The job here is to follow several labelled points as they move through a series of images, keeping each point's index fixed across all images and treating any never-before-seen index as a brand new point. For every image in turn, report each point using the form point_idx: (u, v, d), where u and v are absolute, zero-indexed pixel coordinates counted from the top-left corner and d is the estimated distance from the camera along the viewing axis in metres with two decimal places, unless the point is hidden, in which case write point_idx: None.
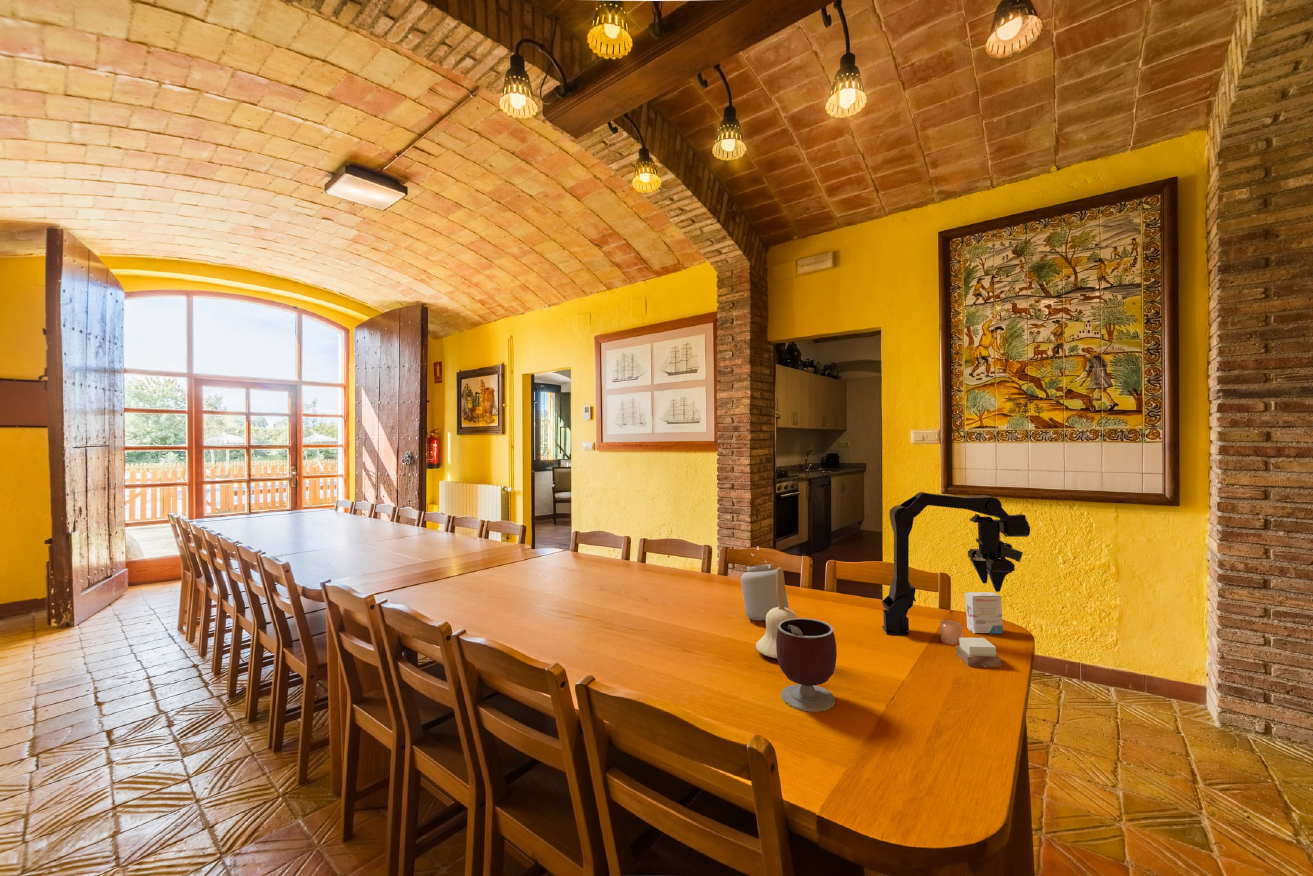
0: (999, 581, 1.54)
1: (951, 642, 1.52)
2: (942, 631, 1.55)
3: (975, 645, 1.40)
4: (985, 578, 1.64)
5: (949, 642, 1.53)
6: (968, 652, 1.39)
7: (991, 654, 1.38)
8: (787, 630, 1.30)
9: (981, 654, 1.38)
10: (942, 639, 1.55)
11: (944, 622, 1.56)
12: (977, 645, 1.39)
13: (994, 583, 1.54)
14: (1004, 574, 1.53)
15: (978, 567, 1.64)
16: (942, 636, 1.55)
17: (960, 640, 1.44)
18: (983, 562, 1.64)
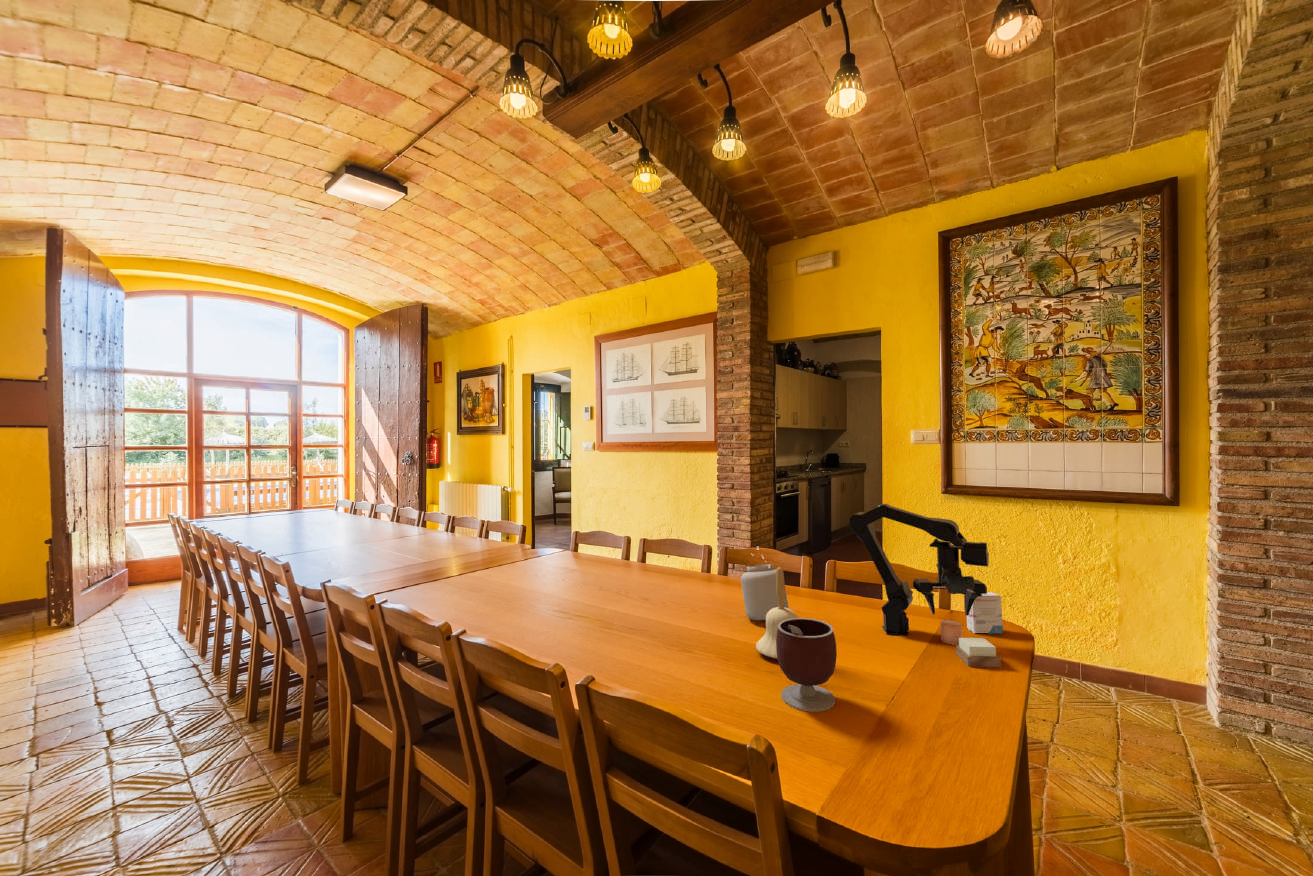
0: (929, 603, 1.56)
1: (951, 642, 1.52)
2: (942, 631, 1.55)
3: (974, 645, 1.39)
4: (966, 610, 1.54)
5: (949, 642, 1.53)
6: (968, 652, 1.39)
7: (991, 654, 1.38)
8: (787, 630, 1.30)
9: (981, 654, 1.38)
10: (942, 639, 1.55)
11: (944, 622, 1.56)
12: (977, 645, 1.39)
13: (928, 603, 1.57)
14: (927, 596, 1.55)
15: (965, 596, 1.56)
16: (942, 636, 1.55)
17: (960, 641, 1.44)
18: (967, 593, 1.54)
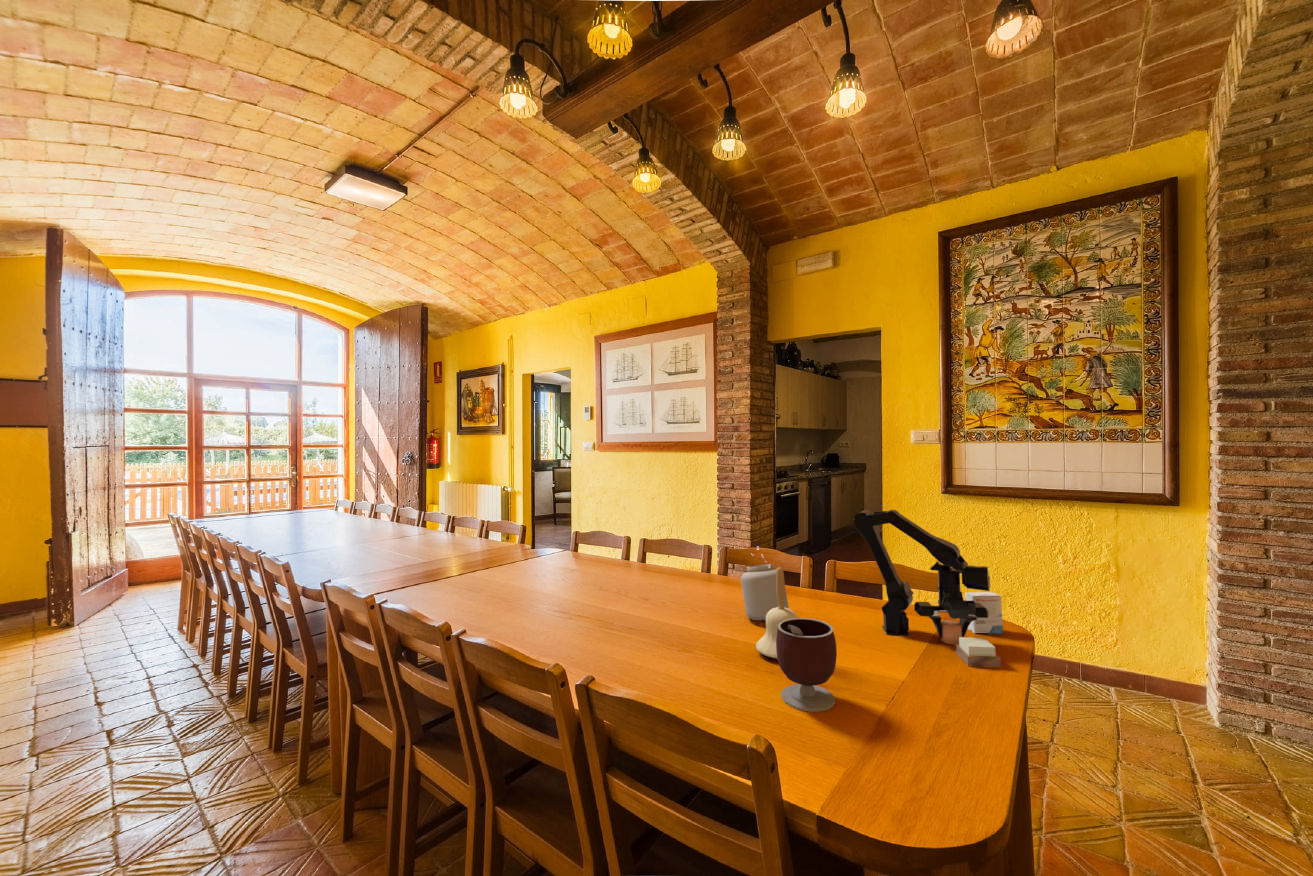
0: (937, 627, 1.55)
1: (951, 642, 1.52)
2: (942, 631, 1.55)
3: (974, 645, 1.40)
4: None
5: (949, 642, 1.53)
6: (967, 652, 1.39)
7: (990, 654, 1.38)
8: (787, 630, 1.30)
9: (980, 654, 1.38)
10: (942, 639, 1.55)
11: (944, 621, 1.56)
12: (976, 645, 1.39)
13: None
14: None
15: (960, 619, 1.56)
16: (942, 636, 1.55)
17: (960, 640, 1.44)
18: None
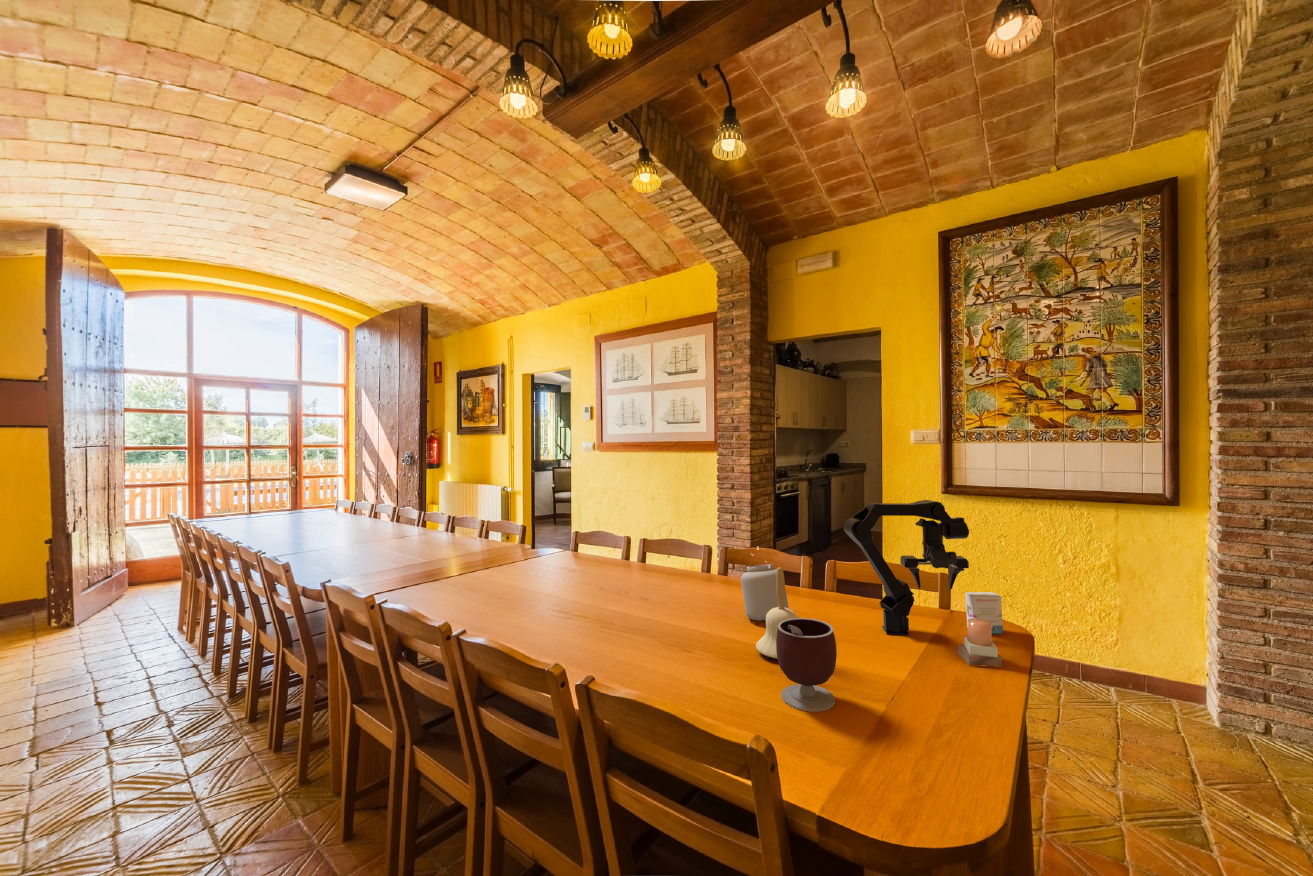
0: (915, 578, 1.66)
1: (978, 642, 1.39)
2: (969, 630, 1.42)
3: None
4: (949, 584, 1.64)
5: (976, 642, 1.39)
6: (969, 651, 1.40)
7: (992, 654, 1.38)
8: (787, 630, 1.30)
9: (982, 654, 1.38)
10: (969, 639, 1.42)
11: (972, 620, 1.43)
12: (978, 645, 1.39)
13: None
14: (913, 571, 1.65)
15: (948, 571, 1.66)
16: (969, 635, 1.42)
17: (964, 640, 1.45)
18: (951, 568, 1.64)
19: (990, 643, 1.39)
